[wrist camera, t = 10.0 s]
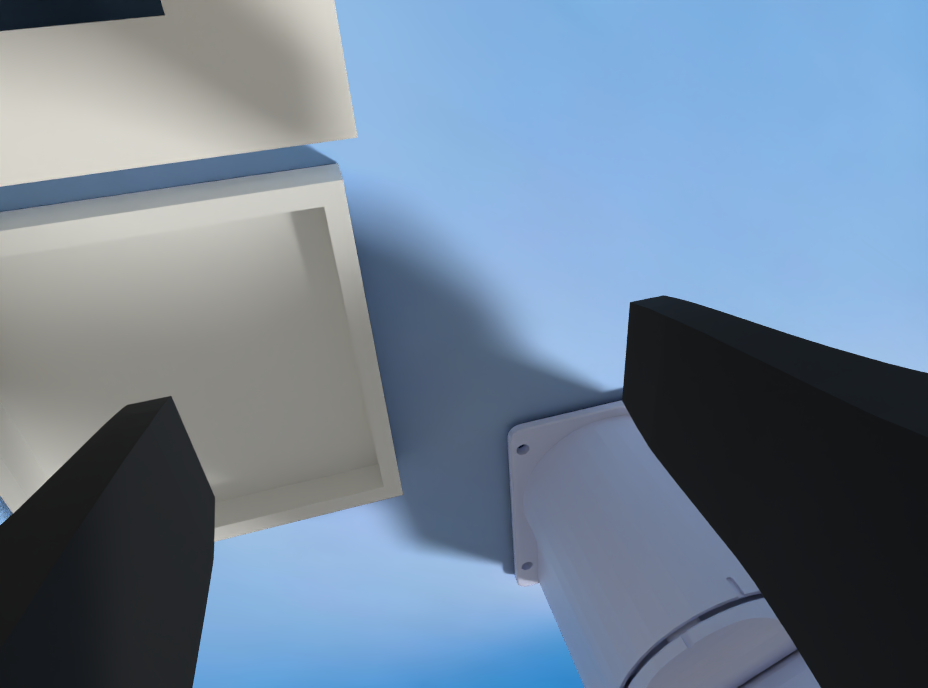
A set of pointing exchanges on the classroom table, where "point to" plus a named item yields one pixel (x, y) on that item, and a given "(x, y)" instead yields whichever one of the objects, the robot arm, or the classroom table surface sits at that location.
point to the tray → (199, 341)
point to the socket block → (171, 87)
